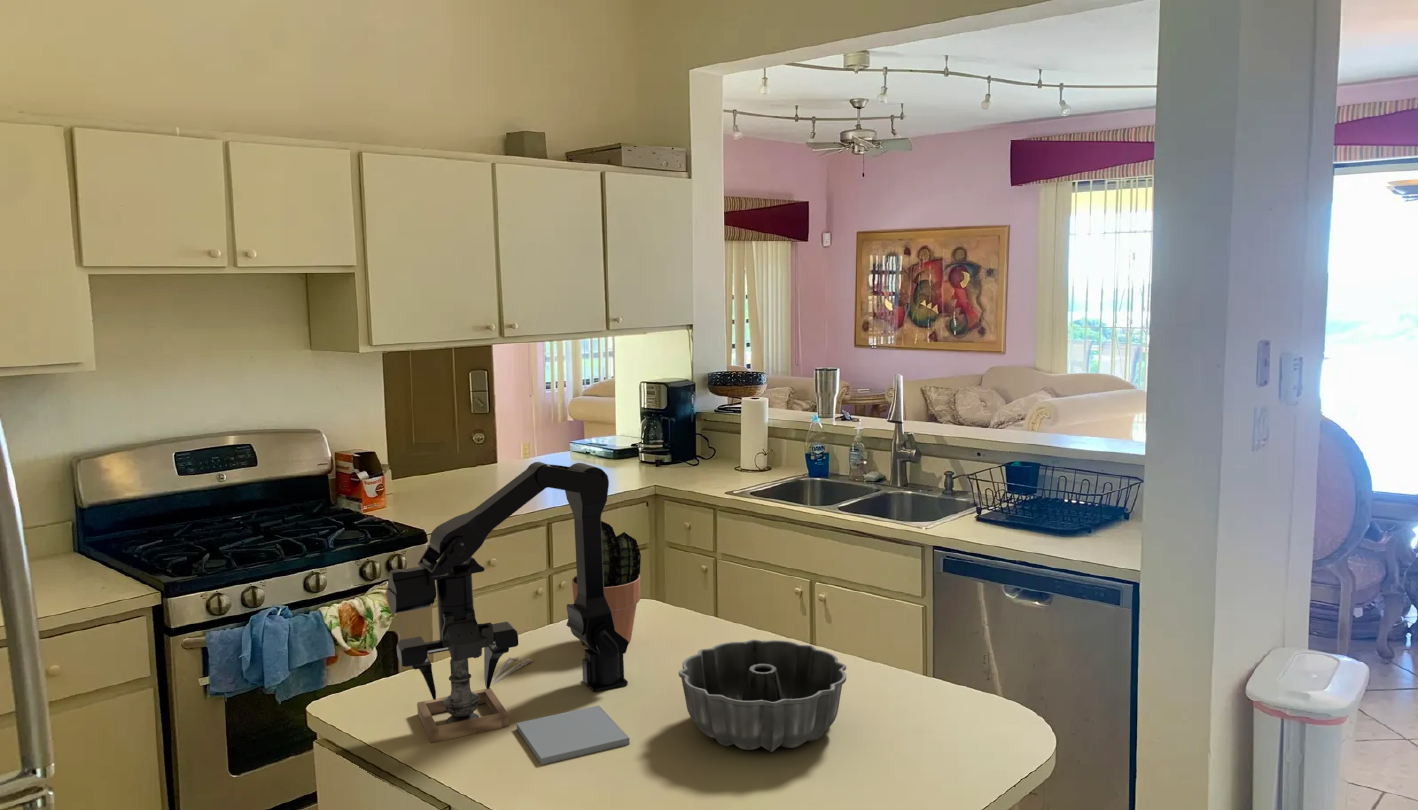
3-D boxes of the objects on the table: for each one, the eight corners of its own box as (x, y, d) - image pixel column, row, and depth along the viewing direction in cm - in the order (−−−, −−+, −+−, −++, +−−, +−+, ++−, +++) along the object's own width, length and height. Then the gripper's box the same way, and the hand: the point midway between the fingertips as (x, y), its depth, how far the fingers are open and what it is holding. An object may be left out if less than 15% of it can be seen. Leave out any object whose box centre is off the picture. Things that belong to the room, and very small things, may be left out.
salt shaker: (471, 728, 161) (467, 657, 160) (438, 726, 162) (433, 655, 161) (486, 713, 167) (482, 644, 166) (454, 711, 168) (449, 642, 167)
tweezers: (512, 661, 192) (511, 651, 192) (534, 663, 191) (533, 654, 190) (465, 703, 176) (464, 692, 175) (489, 706, 174) (488, 695, 174)
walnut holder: (491, 698, 173) (490, 687, 173) (509, 725, 162) (508, 714, 162) (417, 713, 168) (417, 702, 167) (431, 742, 156) (430, 730, 156)
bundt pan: (862, 703, 166) (861, 645, 165) (828, 777, 142) (827, 709, 141) (712, 687, 175) (710, 632, 174) (656, 754, 150) (654, 690, 149)
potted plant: (614, 658, 190) (608, 530, 188) (560, 646, 198) (554, 523, 195) (656, 636, 202) (651, 515, 199) (603, 626, 209) (598, 509, 206)
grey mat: (599, 710, 166) (599, 705, 166) (629, 743, 154) (629, 737, 154) (516, 729, 160) (516, 723, 160) (541, 764, 148) (541, 758, 148)
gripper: (404, 625, 151) (410, 724, 153) (524, 605, 159) (529, 699, 161) (393, 605, 161) (399, 698, 163) (507, 587, 169) (512, 676, 171)
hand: (461, 693), depth 164 cm, fingers open, 8 cm apart
